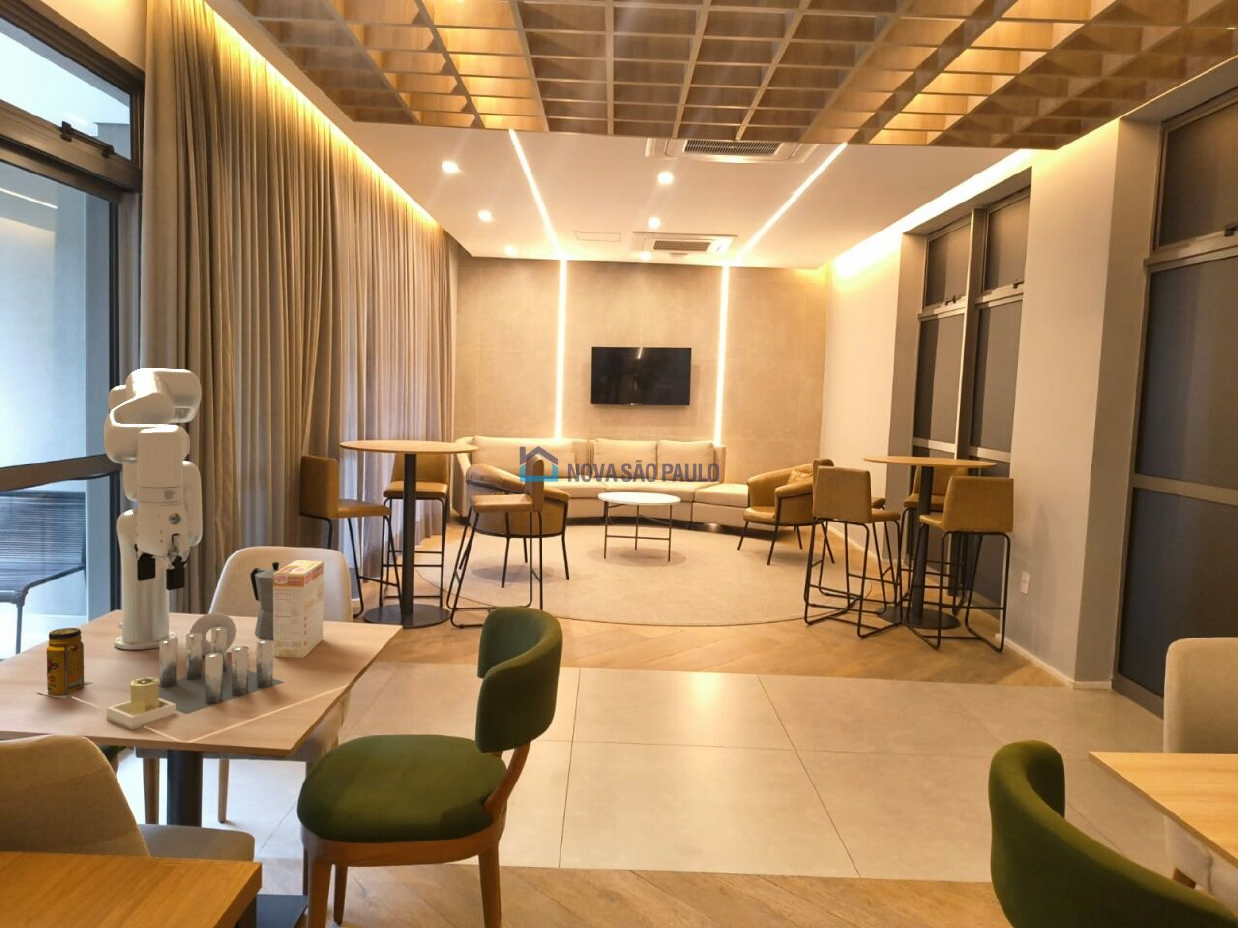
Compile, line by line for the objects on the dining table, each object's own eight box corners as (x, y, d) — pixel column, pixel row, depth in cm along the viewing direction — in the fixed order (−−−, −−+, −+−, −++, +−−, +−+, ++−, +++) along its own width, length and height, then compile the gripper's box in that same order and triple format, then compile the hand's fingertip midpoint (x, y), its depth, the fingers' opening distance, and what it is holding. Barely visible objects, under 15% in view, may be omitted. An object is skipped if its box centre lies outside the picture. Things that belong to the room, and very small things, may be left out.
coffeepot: (309, 634, 203) (309, 562, 202) (277, 643, 195) (277, 568, 194) (267, 623, 211) (267, 554, 209) (234, 632, 202) (234, 560, 201)
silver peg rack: (156, 685, 164) (156, 641, 163) (221, 667, 176) (221, 626, 175) (211, 705, 155) (211, 658, 154) (275, 684, 167) (276, 641, 166)
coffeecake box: (295, 638, 199) (295, 559, 198) (324, 639, 200) (325, 560, 198) (271, 658, 184) (271, 572, 183) (303, 659, 185) (303, 573, 183)
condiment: (36, 693, 159) (35, 632, 158) (79, 679, 167) (78, 622, 166) (62, 699, 156) (61, 637, 155) (104, 685, 164) (103, 627, 163)
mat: (131, 694, 160) (131, 692, 160) (229, 666, 178) (229, 664, 178) (186, 715, 151) (186, 713, 151) (284, 683, 169) (284, 681, 169)
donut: (192, 663, 179) (192, 618, 178) (186, 659, 182) (186, 614, 181) (238, 653, 187) (238, 610, 186) (232, 650, 189) (232, 607, 188)
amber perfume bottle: (124, 714, 149) (124, 682, 148) (152, 706, 153) (151, 674, 153) (138, 720, 147) (137, 687, 146) (165, 711, 151) (165, 679, 150)
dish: (106, 719, 148) (106, 707, 148) (151, 705, 155) (150, 694, 154) (131, 729, 144) (131, 717, 144) (176, 715, 151) (176, 703, 150)
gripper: (206, 498, 153) (206, 588, 154) (154, 487, 161) (155, 572, 163) (166, 503, 146) (166, 596, 148) (114, 491, 155) (115, 579, 157)
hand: (160, 583), depth 156 cm, fingers open, 9 cm apart
